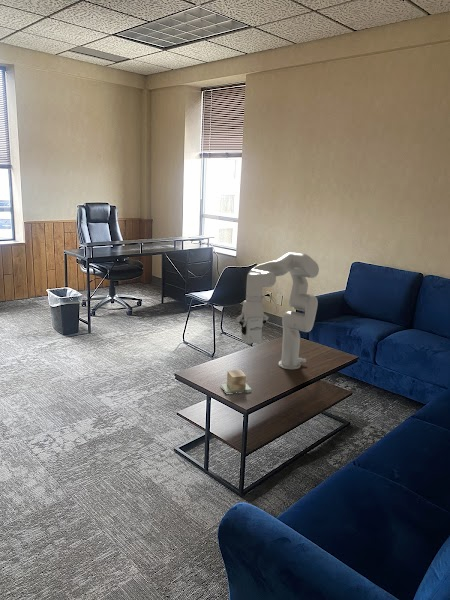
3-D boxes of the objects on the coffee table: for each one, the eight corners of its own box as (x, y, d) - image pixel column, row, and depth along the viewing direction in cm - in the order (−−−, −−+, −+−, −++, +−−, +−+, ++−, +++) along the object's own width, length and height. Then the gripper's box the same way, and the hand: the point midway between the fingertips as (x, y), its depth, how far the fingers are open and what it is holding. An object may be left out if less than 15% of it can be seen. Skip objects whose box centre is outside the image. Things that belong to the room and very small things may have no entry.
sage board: (245, 384, 238) (245, 381, 238) (251, 392, 230) (251, 389, 230) (220, 387, 235) (220, 384, 234) (226, 394, 226) (226, 391, 226)
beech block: (240, 382, 237) (240, 369, 235) (245, 389, 229) (246, 375, 228) (227, 383, 235) (227, 370, 233) (231, 390, 227) (232, 377, 226)
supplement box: (248, 344, 224) (249, 318, 222) (241, 339, 231) (242, 314, 228) (261, 342, 228) (263, 317, 225) (254, 338, 234) (255, 313, 231)
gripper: (267, 296, 231) (265, 330, 235) (234, 297, 225) (232, 332, 229) (273, 299, 224) (271, 334, 228) (239, 300, 218) (237, 336, 222)
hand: (251, 333), depth 228 cm, fingers closed on supplement box, 7 cm apart
